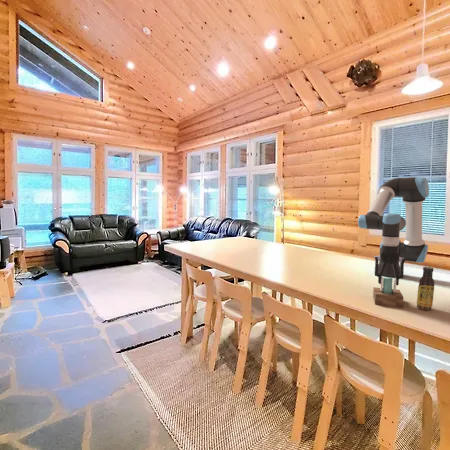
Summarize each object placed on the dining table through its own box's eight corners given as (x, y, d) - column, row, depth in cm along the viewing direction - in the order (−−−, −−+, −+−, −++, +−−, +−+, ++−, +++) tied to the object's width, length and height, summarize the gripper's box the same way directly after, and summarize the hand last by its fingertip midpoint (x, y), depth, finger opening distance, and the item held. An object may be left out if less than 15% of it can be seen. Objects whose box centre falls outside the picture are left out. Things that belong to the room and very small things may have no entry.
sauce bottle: (418, 309, 142) (420, 268, 140) (415, 305, 148) (417, 265, 146) (434, 311, 140) (437, 269, 138) (430, 307, 146) (433, 266, 144)
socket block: (373, 296, 161) (373, 287, 160) (398, 299, 157) (399, 289, 156) (375, 304, 150) (375, 294, 149) (402, 307, 145) (403, 297, 145)
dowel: (382, 300, 156) (382, 277, 155) (391, 301, 154) (391, 277, 153) (383, 302, 152) (383, 279, 151) (392, 303, 151) (392, 280, 149)
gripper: (370, 245, 150) (368, 290, 152) (413, 247, 143) (410, 295, 146) (369, 242, 157) (367, 286, 159) (409, 244, 150) (407, 290, 153)
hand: (387, 290), depth 153 cm, fingers open, 5 cm apart
